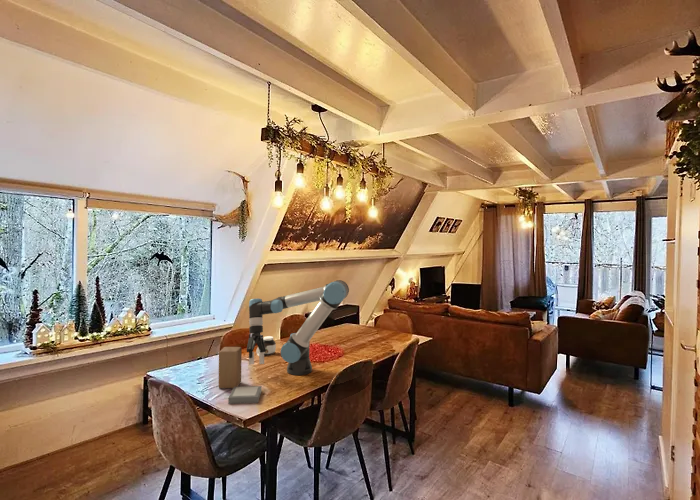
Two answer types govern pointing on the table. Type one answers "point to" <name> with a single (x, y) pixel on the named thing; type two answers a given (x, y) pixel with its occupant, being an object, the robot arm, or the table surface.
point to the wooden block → (230, 367)
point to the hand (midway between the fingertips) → (256, 364)
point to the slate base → (245, 394)
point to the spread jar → (268, 346)
